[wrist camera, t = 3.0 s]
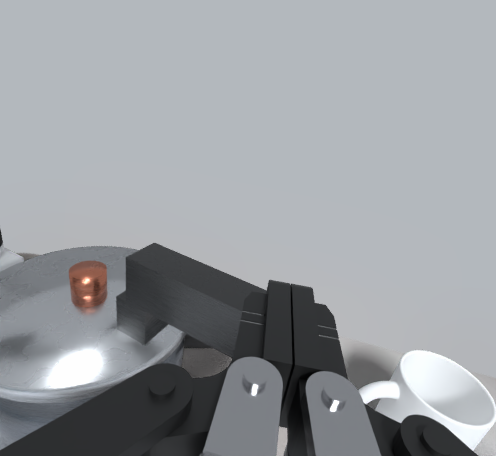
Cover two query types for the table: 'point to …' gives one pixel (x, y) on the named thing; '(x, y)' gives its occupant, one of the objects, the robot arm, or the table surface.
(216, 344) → the cooker lid
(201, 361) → the table surface
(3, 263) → the container
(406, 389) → the mug
